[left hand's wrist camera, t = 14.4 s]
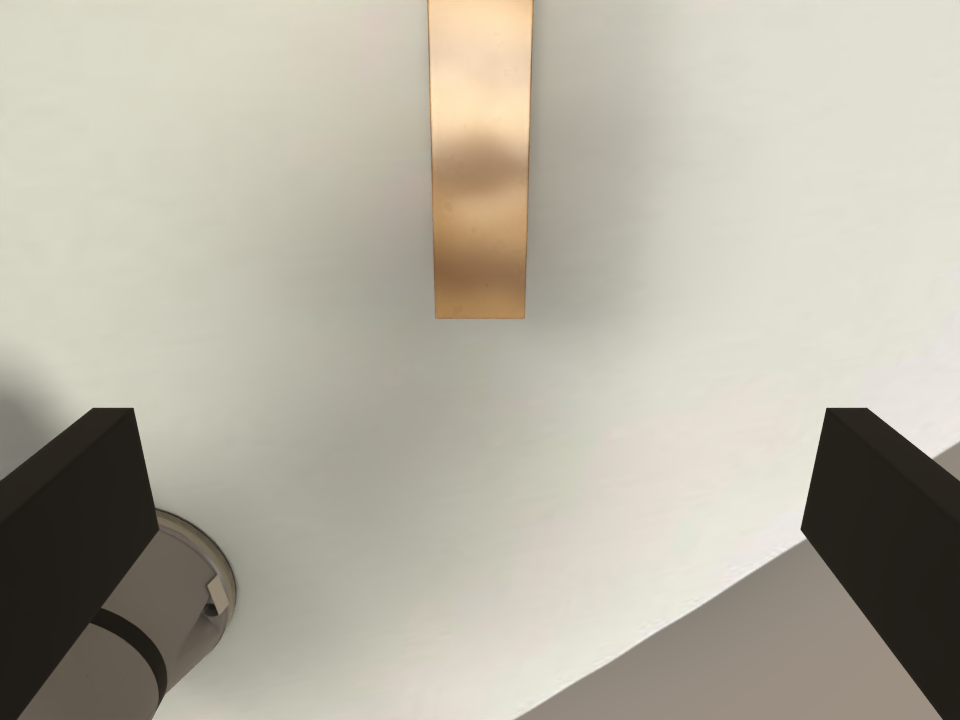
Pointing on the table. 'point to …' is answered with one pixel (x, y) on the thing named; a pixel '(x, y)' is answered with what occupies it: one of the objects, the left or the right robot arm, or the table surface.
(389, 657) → the table surface
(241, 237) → the table surface
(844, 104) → the table surface
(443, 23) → the post
